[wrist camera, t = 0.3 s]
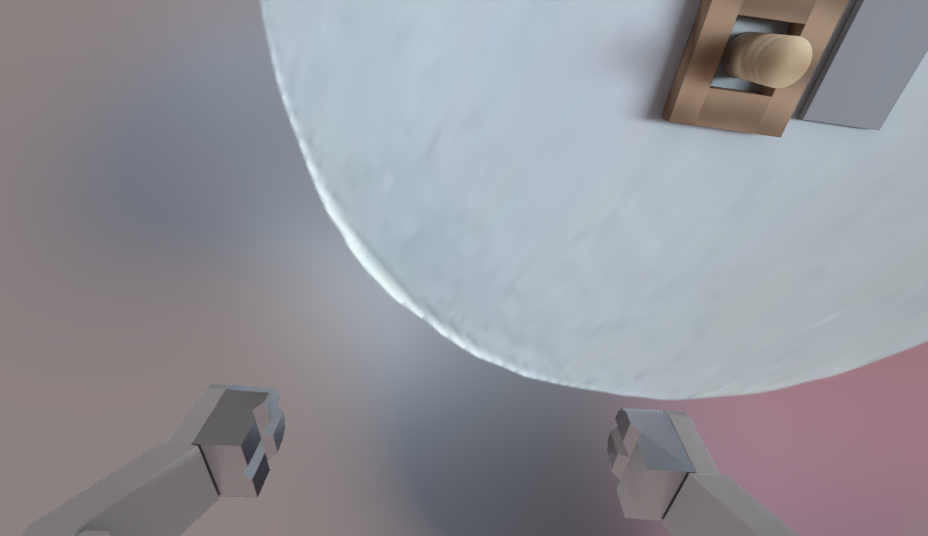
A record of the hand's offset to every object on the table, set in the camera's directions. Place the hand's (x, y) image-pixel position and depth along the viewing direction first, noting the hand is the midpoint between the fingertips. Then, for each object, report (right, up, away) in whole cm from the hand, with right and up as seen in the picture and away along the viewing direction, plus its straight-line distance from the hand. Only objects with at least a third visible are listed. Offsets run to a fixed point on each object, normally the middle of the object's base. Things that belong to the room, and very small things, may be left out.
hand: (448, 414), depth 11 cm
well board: (+31, +27, +37) cm, 56 cm away
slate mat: (+45, +26, +37) cm, 64 cm away
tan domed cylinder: (+31, +27, +37) cm, 56 cm away
